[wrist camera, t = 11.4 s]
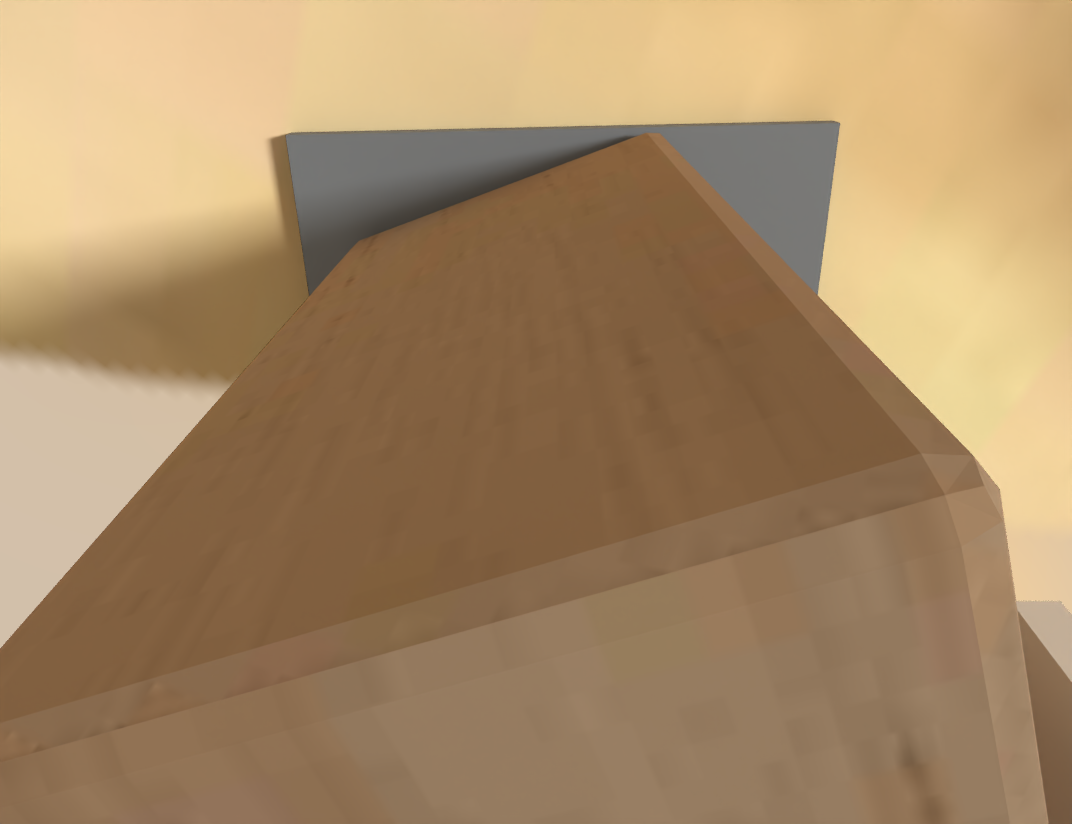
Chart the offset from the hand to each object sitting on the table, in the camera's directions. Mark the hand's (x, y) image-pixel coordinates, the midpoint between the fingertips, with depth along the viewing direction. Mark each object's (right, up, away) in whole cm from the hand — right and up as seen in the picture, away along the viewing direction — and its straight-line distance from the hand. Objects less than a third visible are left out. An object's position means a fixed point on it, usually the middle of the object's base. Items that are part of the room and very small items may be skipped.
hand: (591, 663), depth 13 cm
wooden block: (0, +7, +13) cm, 15 cm away
